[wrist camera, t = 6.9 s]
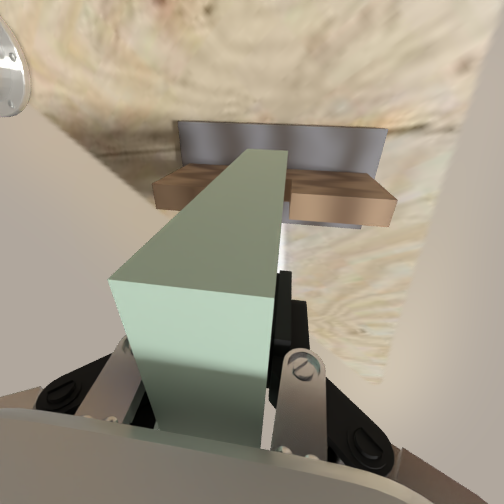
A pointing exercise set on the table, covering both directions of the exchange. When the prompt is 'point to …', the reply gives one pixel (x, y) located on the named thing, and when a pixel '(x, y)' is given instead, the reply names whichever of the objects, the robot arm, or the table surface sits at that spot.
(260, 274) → the green slat
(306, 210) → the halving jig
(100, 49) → the table surface
